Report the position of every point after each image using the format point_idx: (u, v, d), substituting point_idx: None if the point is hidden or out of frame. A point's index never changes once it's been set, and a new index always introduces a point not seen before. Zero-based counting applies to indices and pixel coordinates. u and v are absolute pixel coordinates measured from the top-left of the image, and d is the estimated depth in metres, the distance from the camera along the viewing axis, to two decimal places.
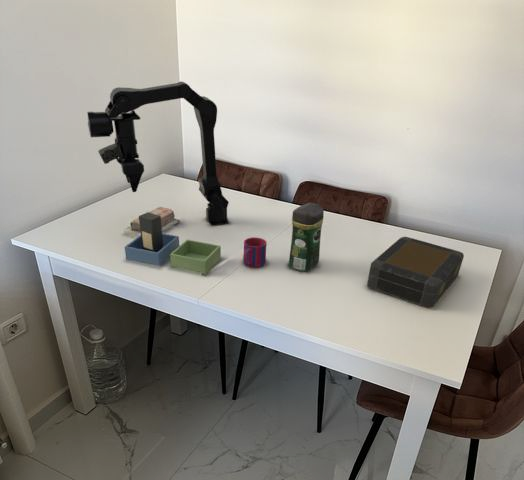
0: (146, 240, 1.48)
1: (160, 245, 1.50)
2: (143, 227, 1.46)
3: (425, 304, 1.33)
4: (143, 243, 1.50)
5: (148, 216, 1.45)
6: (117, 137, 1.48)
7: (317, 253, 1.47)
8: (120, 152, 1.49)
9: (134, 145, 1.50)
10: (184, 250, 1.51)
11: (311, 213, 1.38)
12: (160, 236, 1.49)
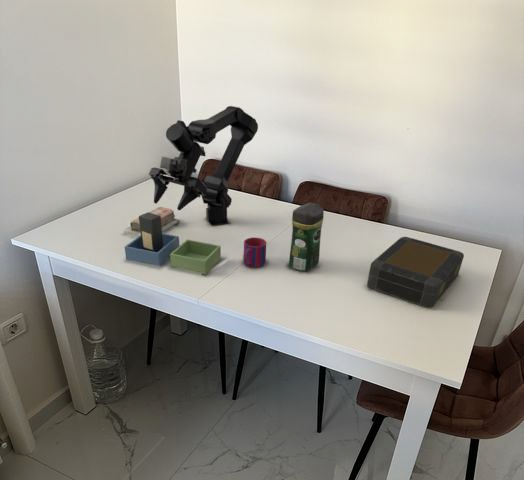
0: (146, 240, 1.48)
1: (160, 245, 1.50)
2: (143, 227, 1.46)
3: (425, 304, 1.33)
4: (143, 243, 1.50)
5: (148, 216, 1.45)
6: (185, 156, 1.48)
7: (317, 253, 1.47)
8: (185, 169, 1.47)
9: (192, 172, 1.52)
10: (184, 250, 1.51)
11: (311, 213, 1.38)
12: (160, 236, 1.49)
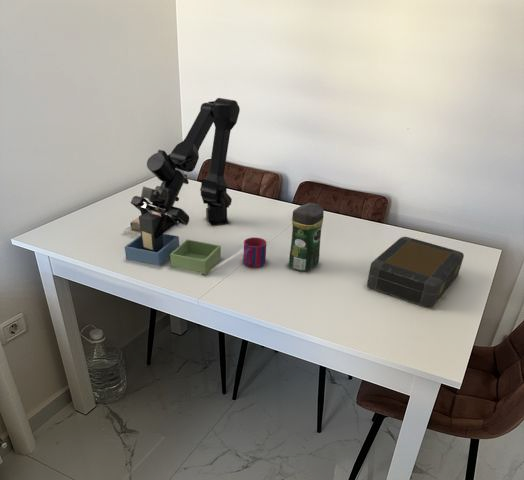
0: (146, 240, 1.48)
1: (160, 245, 1.50)
2: (143, 227, 1.46)
3: (425, 304, 1.33)
4: (143, 243, 1.50)
5: (148, 216, 1.45)
6: (167, 186, 1.46)
7: (317, 253, 1.47)
8: (167, 199, 1.45)
9: (174, 201, 1.50)
10: (184, 250, 1.51)
11: (311, 213, 1.38)
12: (160, 236, 1.49)
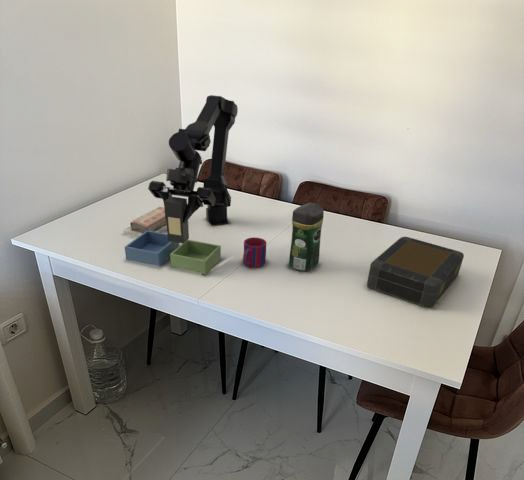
0: (173, 226, 1.41)
1: (186, 230, 1.44)
2: (170, 212, 1.39)
3: (425, 304, 1.33)
4: (169, 229, 1.42)
5: (174, 200, 1.38)
6: (188, 166, 1.40)
7: (317, 253, 1.47)
8: None
9: None
10: (184, 250, 1.51)
11: (311, 213, 1.38)
12: None
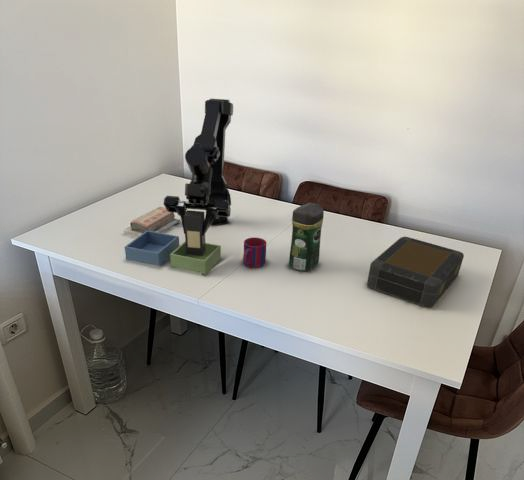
0: (192, 239, 1.43)
1: (204, 242, 1.46)
2: (189, 226, 1.40)
3: (425, 304, 1.33)
4: (188, 243, 1.44)
5: (193, 214, 1.40)
6: (202, 180, 1.42)
7: (317, 253, 1.47)
8: None
9: None
10: (184, 250, 1.51)
11: (311, 213, 1.38)
12: None
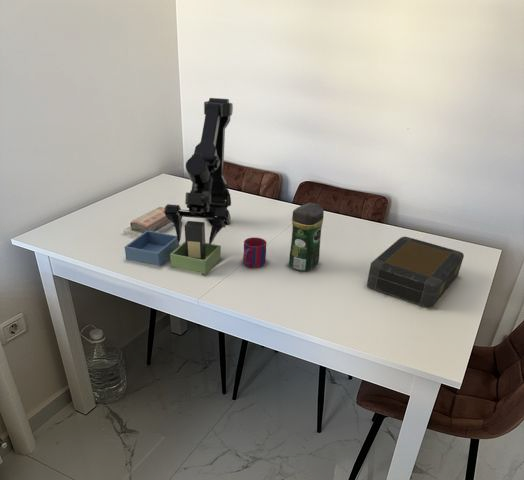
0: (193, 249, 1.44)
1: (204, 252, 1.48)
2: (190, 236, 1.42)
3: (425, 304, 1.33)
4: (188, 253, 1.45)
5: (194, 224, 1.41)
6: (202, 188, 1.43)
7: (317, 253, 1.47)
8: None
9: None
10: (184, 250, 1.51)
11: (311, 213, 1.38)
12: (204, 243, 1.46)
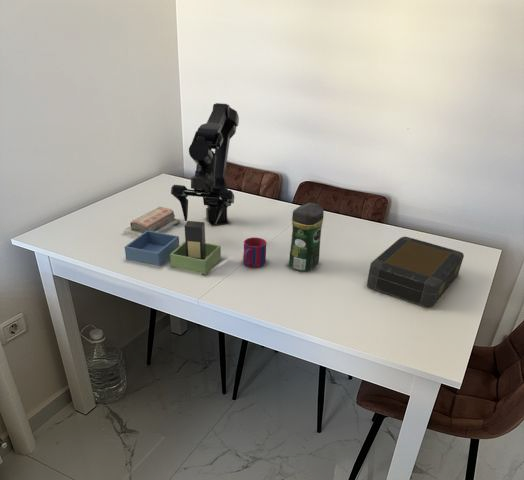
0: (193, 249, 1.44)
1: (204, 252, 1.48)
2: (190, 236, 1.42)
3: (425, 304, 1.33)
4: (188, 253, 1.45)
5: (194, 224, 1.41)
6: (207, 169, 1.48)
7: (317, 253, 1.47)
8: None
9: None
10: (184, 250, 1.51)
11: (311, 213, 1.38)
12: (204, 243, 1.46)
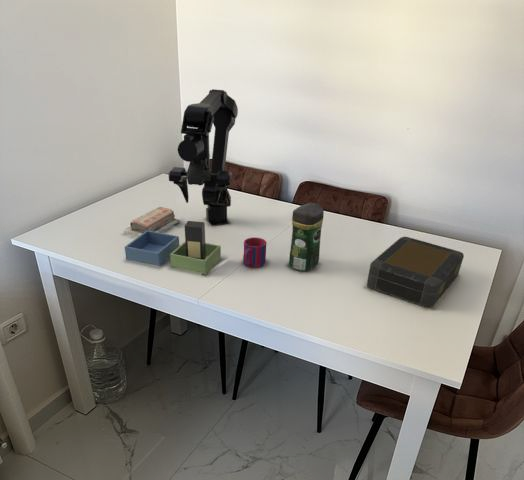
0: (193, 249, 1.44)
1: (204, 252, 1.48)
2: (190, 236, 1.42)
3: (425, 304, 1.33)
4: (188, 253, 1.45)
5: (194, 224, 1.41)
6: (201, 155, 1.45)
7: (317, 253, 1.47)
8: None
9: None
10: (184, 250, 1.51)
11: (311, 213, 1.38)
12: (204, 243, 1.46)
